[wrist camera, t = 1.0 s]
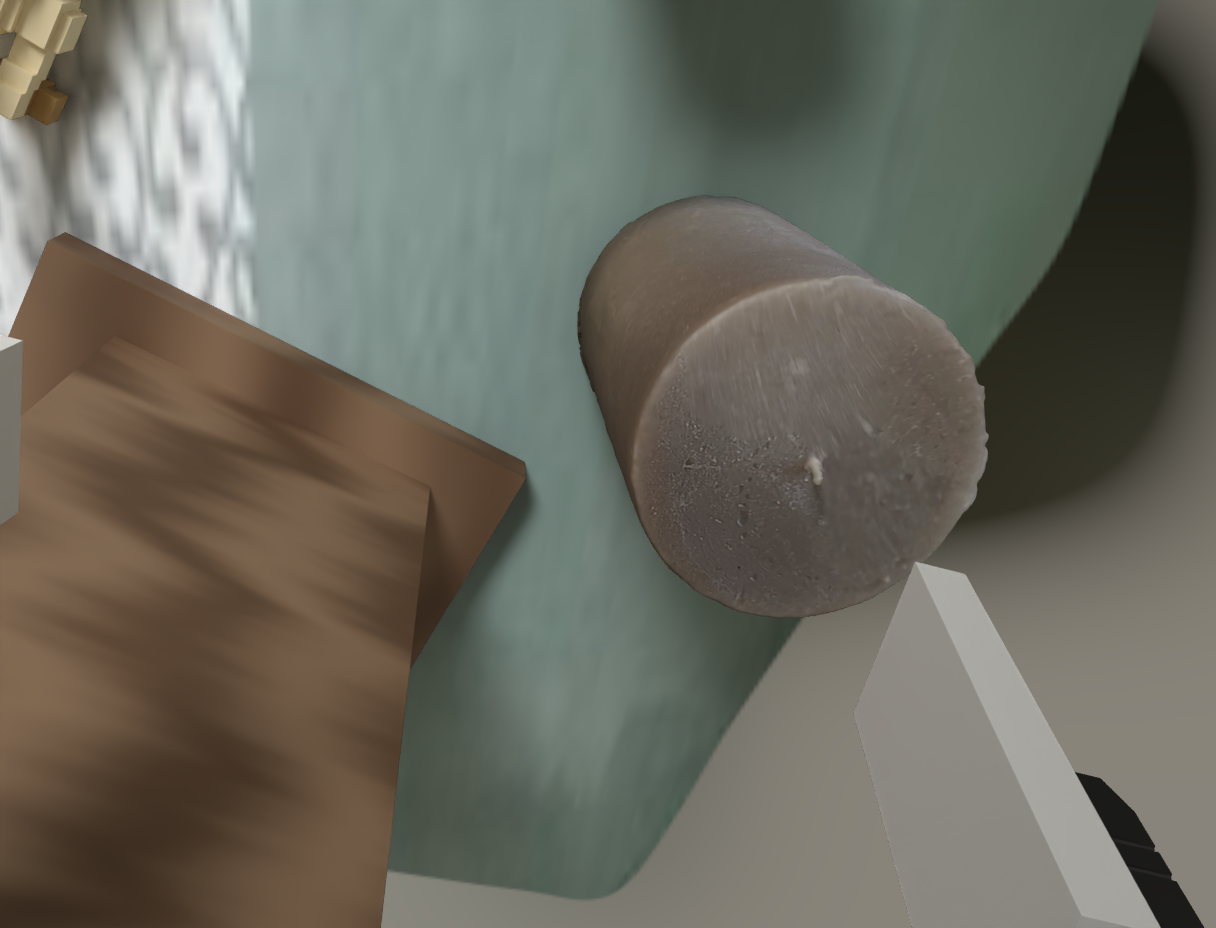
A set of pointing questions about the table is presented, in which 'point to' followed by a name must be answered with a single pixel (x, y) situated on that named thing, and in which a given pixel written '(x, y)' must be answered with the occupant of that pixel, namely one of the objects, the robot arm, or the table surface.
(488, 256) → the table surface
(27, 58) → the cat figure
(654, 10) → the table surface
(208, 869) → the shelf stand
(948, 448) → the pillar candle
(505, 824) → the table surface
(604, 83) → the table surface
